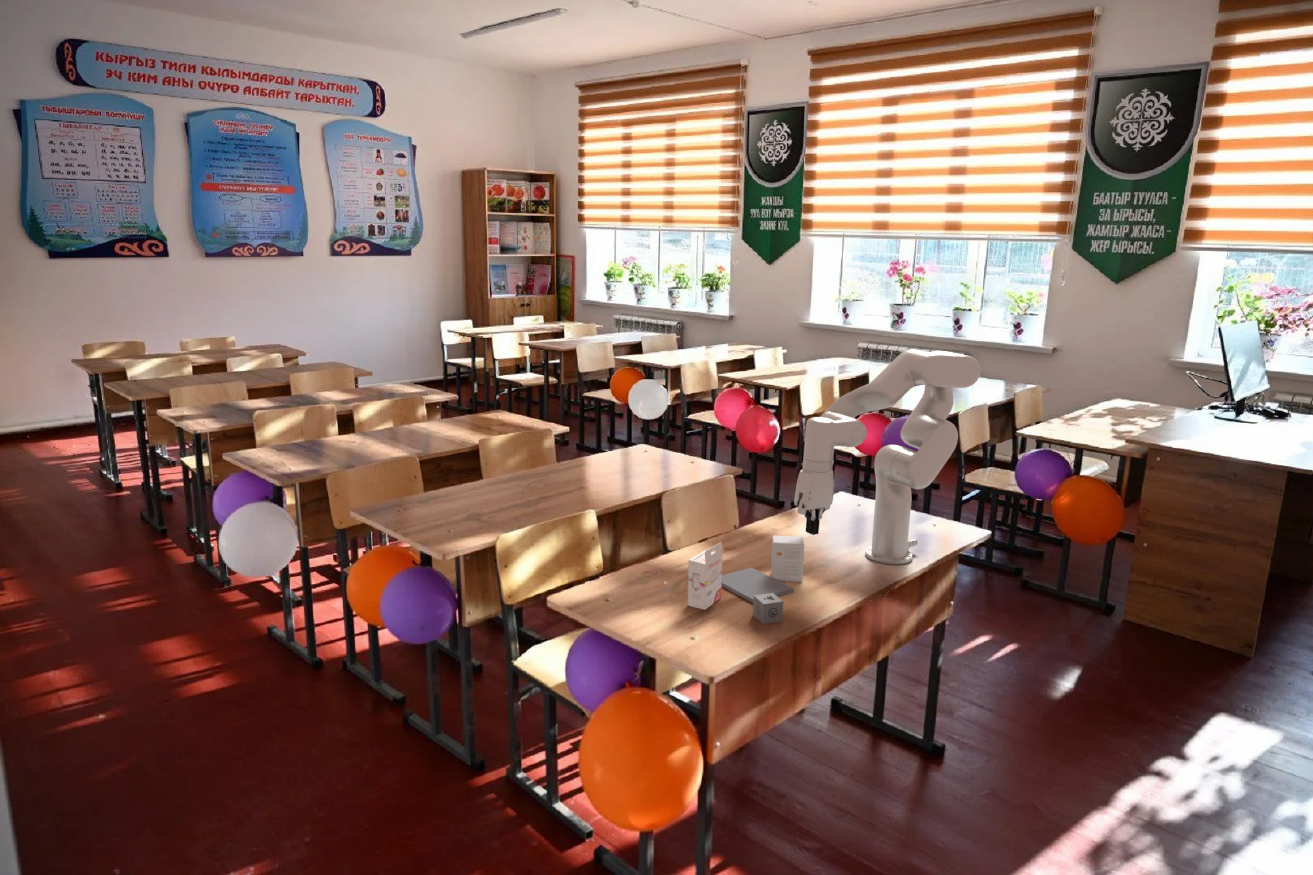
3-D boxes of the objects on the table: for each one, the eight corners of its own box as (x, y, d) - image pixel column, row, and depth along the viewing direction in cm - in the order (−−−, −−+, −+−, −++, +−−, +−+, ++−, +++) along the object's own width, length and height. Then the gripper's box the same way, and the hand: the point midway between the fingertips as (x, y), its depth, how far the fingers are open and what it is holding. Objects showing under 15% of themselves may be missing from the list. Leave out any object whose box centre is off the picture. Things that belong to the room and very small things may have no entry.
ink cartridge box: (703, 593, 213) (705, 537, 210) (721, 598, 211) (723, 541, 207) (686, 605, 206) (688, 547, 203) (704, 610, 204) (706, 551, 200)
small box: (801, 574, 227) (803, 536, 224) (802, 582, 221) (804, 543, 219) (770, 572, 227) (772, 534, 225) (771, 580, 222) (773, 542, 219)
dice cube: (782, 621, 199) (783, 601, 198) (762, 624, 197) (763, 604, 196) (771, 612, 203) (772, 592, 202) (752, 615, 202) (753, 595, 200)
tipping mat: (751, 571, 228) (751, 567, 228) (793, 591, 215) (793, 588, 215) (712, 581, 221) (712, 577, 221) (753, 603, 208) (753, 599, 208)
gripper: (827, 459, 230) (822, 524, 234) (786, 465, 221) (780, 533, 225) (848, 465, 224) (842, 532, 228) (806, 472, 215) (800, 541, 219)
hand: (811, 532), depth 227 cm, fingers closed
